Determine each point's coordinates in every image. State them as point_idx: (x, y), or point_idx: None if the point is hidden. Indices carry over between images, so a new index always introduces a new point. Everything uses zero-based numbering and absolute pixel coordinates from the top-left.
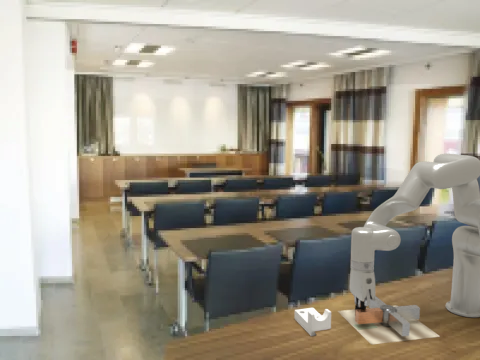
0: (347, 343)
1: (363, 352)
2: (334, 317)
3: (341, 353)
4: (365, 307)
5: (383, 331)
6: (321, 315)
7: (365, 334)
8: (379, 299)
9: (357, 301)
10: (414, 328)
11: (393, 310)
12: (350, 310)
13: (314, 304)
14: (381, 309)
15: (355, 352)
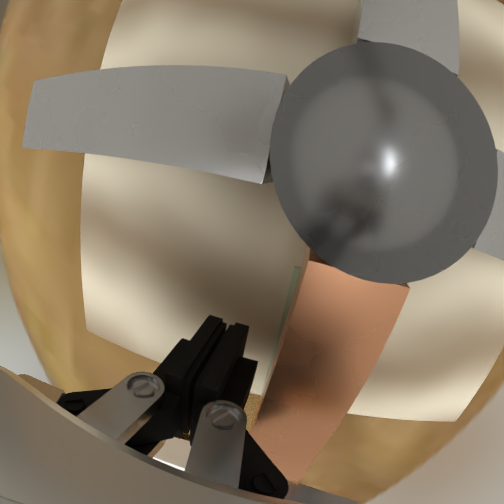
0: (357, 451)
1: (439, 436)
2: (120, 348)
3: (388, 481)
4: (222, 387)
5: (428, 284)
6: (156, 458)
7: (384, 400)
8: (97, 76)
9: (154, 450)
10: (469, 47)
11: (490, 162)
12: (87, 261)
13: (27, 321)
14: (374, 279)
15: (418, 454)
